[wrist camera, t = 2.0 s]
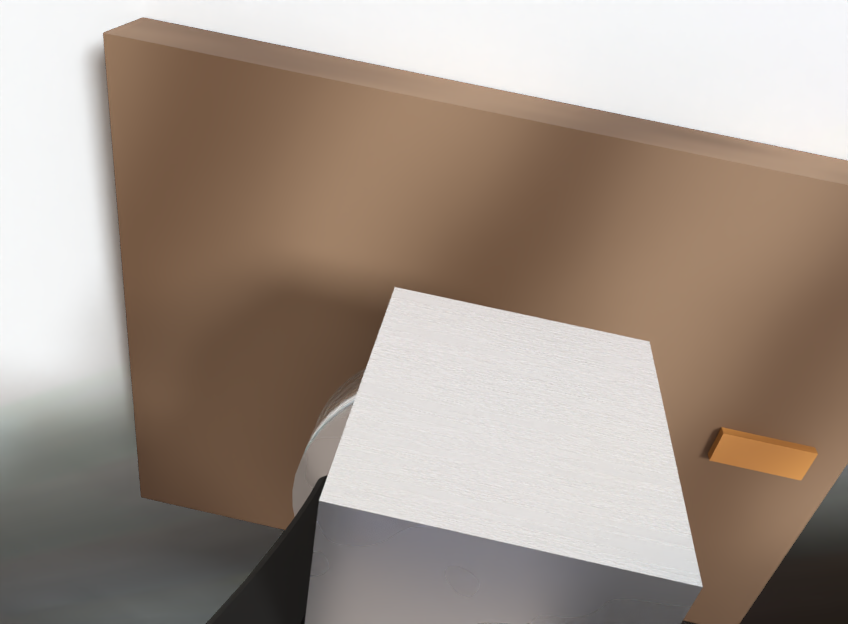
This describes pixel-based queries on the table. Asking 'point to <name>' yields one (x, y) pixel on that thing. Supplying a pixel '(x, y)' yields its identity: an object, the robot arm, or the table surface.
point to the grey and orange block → (496, 478)
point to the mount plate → (465, 271)
